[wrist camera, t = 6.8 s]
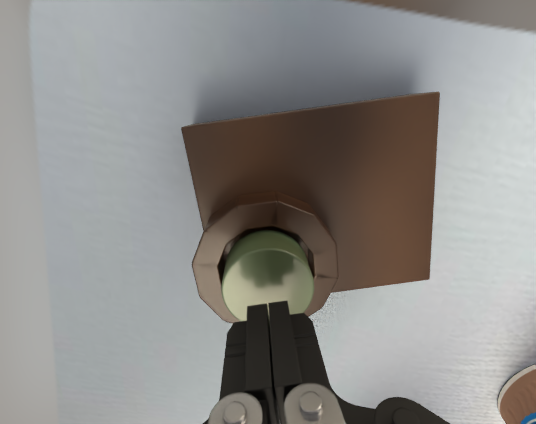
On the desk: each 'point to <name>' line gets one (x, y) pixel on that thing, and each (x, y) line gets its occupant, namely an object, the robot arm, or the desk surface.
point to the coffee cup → (519, 398)
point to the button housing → (320, 191)
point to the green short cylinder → (266, 273)
